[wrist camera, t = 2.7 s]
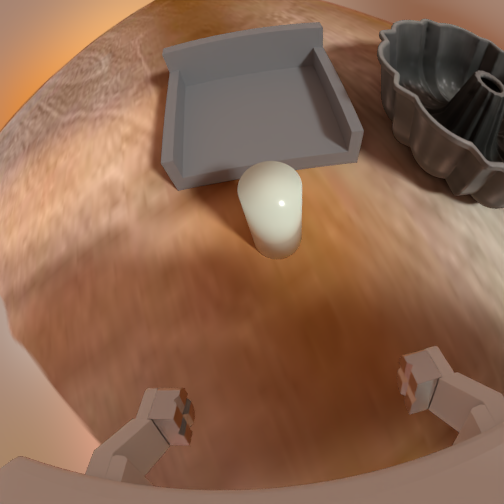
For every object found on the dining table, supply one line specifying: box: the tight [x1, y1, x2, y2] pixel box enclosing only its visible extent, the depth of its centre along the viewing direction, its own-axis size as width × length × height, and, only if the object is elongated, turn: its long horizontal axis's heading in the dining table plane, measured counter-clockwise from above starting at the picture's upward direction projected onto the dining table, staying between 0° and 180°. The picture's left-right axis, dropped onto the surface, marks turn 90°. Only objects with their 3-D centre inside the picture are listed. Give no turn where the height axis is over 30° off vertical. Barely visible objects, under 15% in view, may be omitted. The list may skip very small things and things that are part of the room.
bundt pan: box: [377, 19, 504, 209], centre depth 26 cm, size 26×26×10 cm
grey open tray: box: [161, 22, 364, 191], centre depth 31 cm, size 16×19×8 cm
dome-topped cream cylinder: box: [237, 161, 302, 259], centre depth 25 cm, size 4×4×8 cm
